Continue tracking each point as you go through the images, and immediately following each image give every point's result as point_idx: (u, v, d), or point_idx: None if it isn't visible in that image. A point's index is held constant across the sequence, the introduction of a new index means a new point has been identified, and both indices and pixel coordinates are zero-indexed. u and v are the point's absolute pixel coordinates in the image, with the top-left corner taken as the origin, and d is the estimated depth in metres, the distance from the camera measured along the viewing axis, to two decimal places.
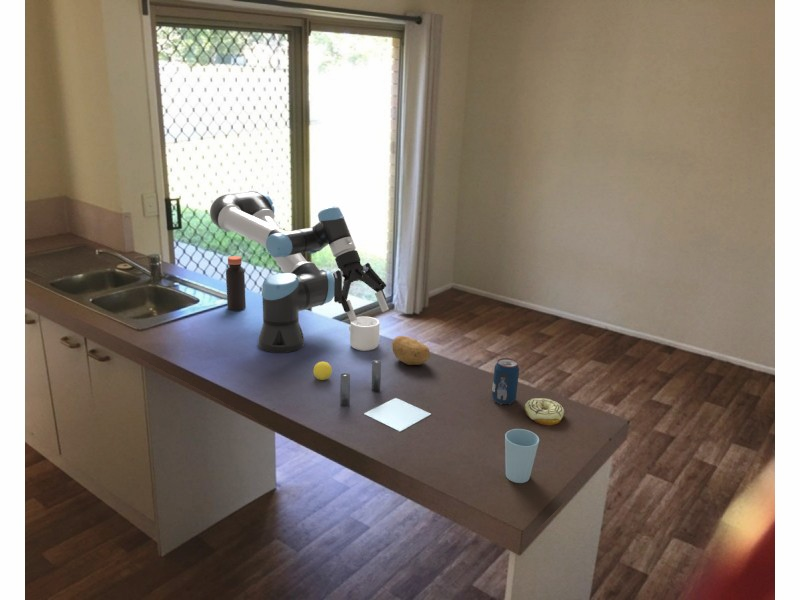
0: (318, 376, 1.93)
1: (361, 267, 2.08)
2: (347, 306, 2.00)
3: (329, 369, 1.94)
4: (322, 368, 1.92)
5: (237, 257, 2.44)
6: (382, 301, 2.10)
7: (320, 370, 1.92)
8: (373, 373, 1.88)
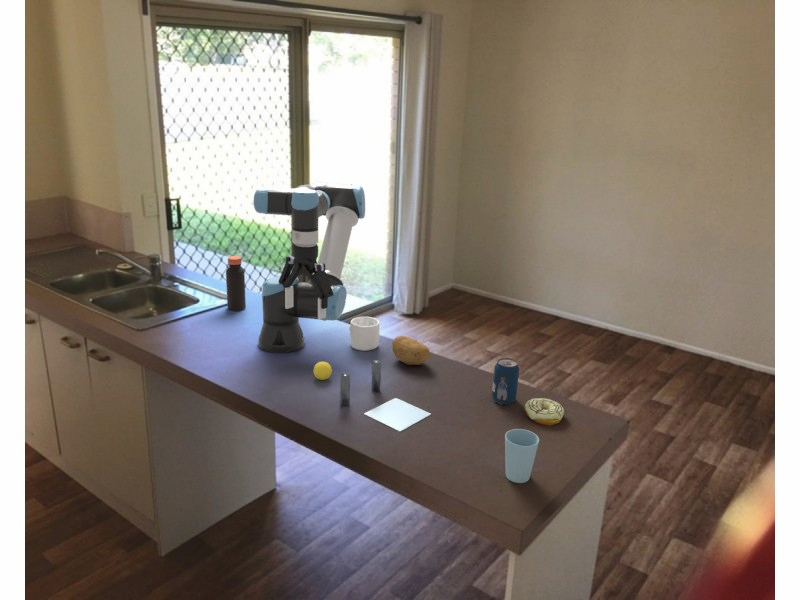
0: (318, 376, 1.93)
1: (310, 265, 1.89)
2: None
3: (329, 369, 1.94)
4: (322, 368, 1.92)
5: (237, 257, 2.44)
6: None
7: (320, 370, 1.92)
8: (373, 373, 1.88)
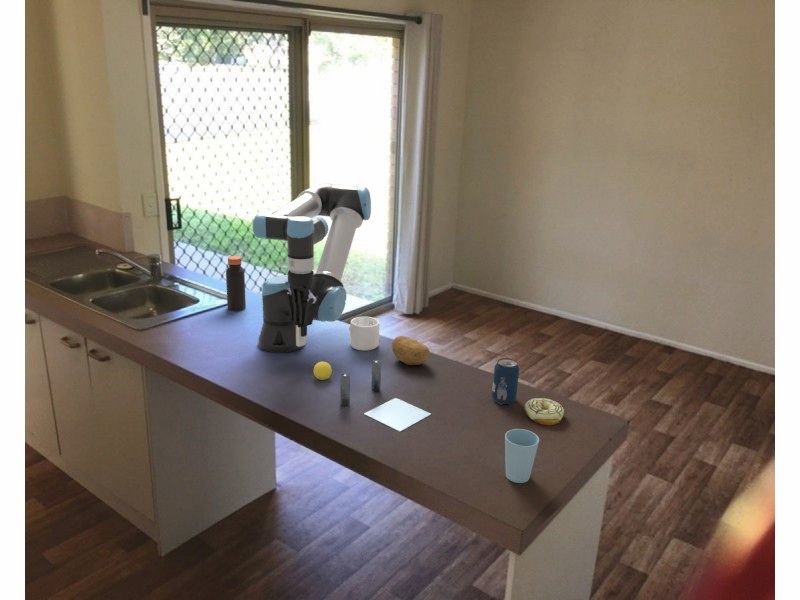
0: (318, 376, 1.93)
1: (305, 292, 1.90)
2: None
3: (329, 369, 1.94)
4: (322, 368, 1.92)
5: (237, 257, 2.44)
6: None
7: (320, 370, 1.92)
8: (373, 373, 1.88)
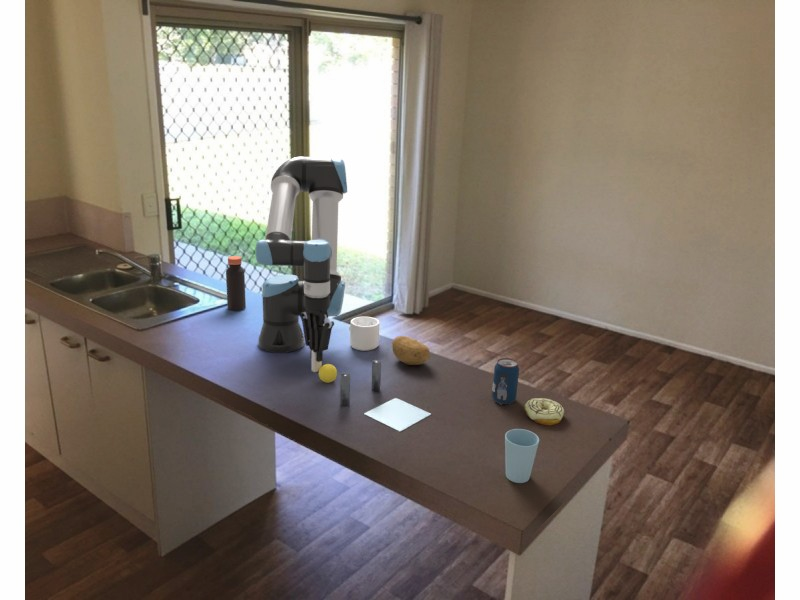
0: (322, 379, 1.92)
1: (320, 316, 1.87)
2: None
3: (335, 377, 1.93)
4: (329, 376, 1.91)
5: (237, 257, 2.44)
6: None
7: (326, 377, 1.91)
8: (373, 373, 1.88)
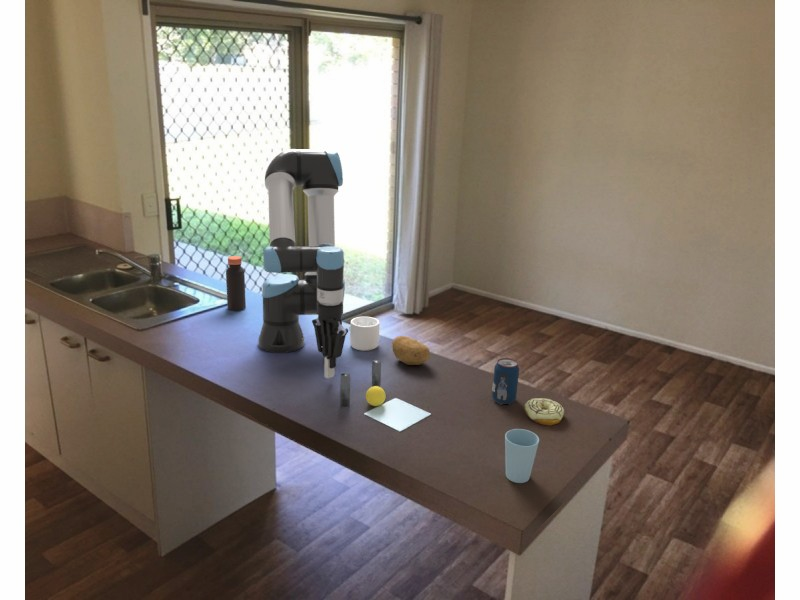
0: (367, 400, 1.80)
1: (334, 324, 1.85)
2: None
3: None
4: (375, 405, 1.80)
5: (237, 257, 2.44)
6: None
7: (372, 404, 1.79)
8: (373, 373, 1.88)
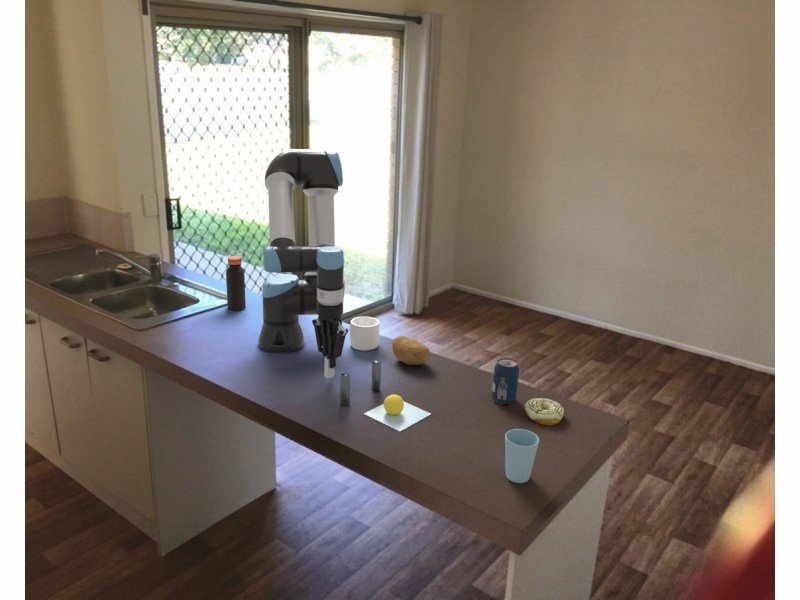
0: (388, 403, 1.75)
1: (334, 324, 1.85)
2: None
3: None
4: None
5: (237, 257, 2.44)
6: None
7: None
8: (373, 373, 1.88)
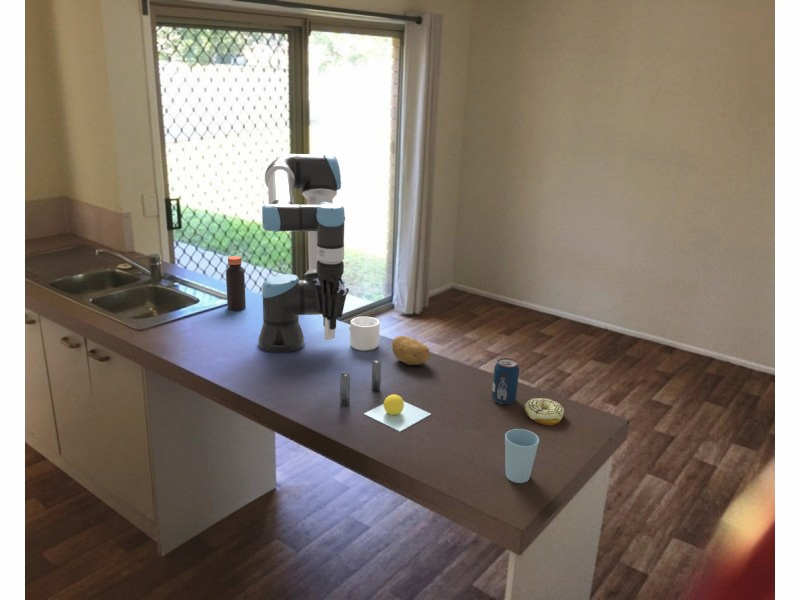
0: (388, 403, 1.75)
1: (335, 283, 1.81)
2: (325, 322, 1.88)
3: None
4: None
5: (237, 257, 2.44)
6: None
7: None
8: (373, 373, 1.88)
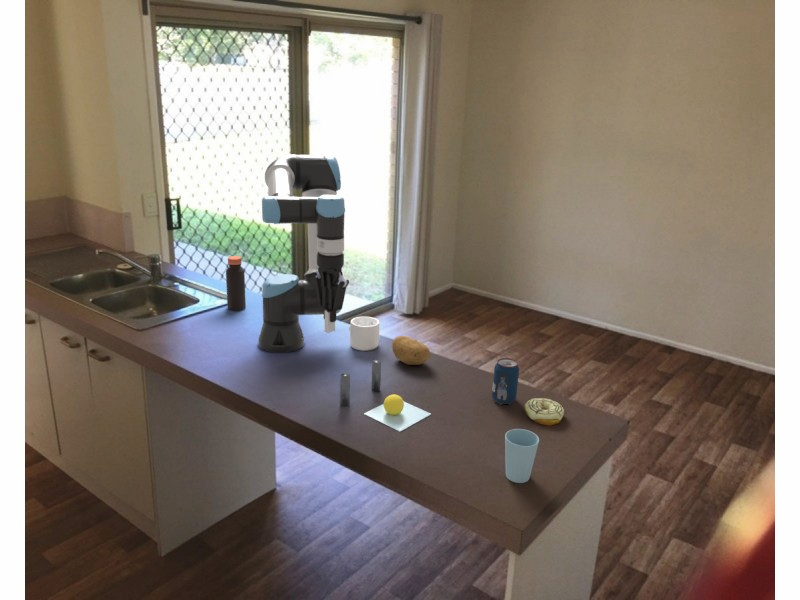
0: (388, 403, 1.75)
1: (335, 275, 1.80)
2: (325, 315, 1.87)
3: None
4: None
5: (237, 257, 2.44)
6: None
7: None
8: (373, 373, 1.88)
